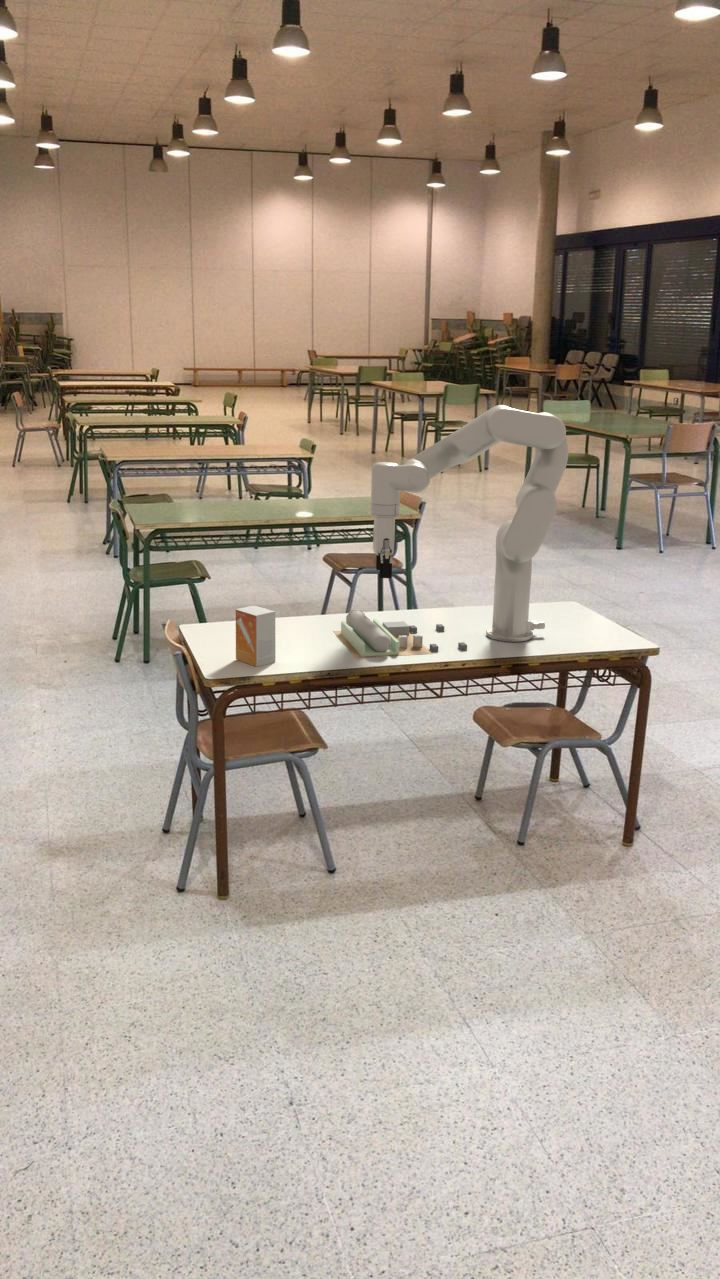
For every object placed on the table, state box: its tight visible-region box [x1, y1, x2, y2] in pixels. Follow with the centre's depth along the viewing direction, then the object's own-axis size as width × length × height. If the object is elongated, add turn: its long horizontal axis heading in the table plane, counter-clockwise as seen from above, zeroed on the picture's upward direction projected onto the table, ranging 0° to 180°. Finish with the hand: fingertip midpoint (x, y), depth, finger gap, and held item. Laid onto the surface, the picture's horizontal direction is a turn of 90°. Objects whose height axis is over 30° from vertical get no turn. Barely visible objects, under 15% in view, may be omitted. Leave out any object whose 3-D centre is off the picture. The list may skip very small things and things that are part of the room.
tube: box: [345, 609, 391, 652], centre depth 279 cm, size 5×5×25 cm
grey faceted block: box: [381, 621, 410, 636], centre depth 290 cm, size 6×5×2 cm
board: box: [332, 630, 434, 659], centre depth 282 cm, size 20×25×1 cm
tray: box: [340, 619, 399, 657], centre depth 280 cm, size 10×22×3 cm, turn 14°
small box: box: [235, 605, 276, 668], centre depth 266 cm, size 8×6×13 cm
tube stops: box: [409, 623, 468, 653], centre depth 285 cm, size 9×20×2 cm, turn 14°
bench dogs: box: [398, 634, 424, 649], centre depth 277 cm, size 6×2×3 cm, turn 105°
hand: (383, 573), depth 289 cm, fingers open, 9 cm apart
